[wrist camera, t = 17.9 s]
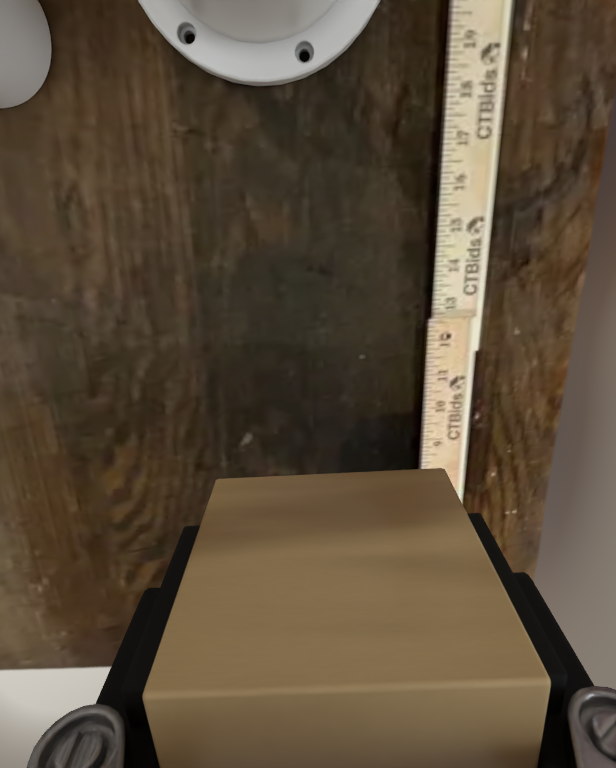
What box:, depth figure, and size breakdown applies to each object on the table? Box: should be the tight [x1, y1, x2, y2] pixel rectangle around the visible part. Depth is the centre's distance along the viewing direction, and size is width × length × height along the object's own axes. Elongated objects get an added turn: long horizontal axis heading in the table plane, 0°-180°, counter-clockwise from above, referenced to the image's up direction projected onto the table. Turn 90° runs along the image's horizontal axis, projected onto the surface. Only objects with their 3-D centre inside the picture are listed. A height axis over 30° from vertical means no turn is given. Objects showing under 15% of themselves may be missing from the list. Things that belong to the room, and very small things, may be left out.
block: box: [143, 468, 551, 768], centre depth 9 cm, size 5×5×5 cm
